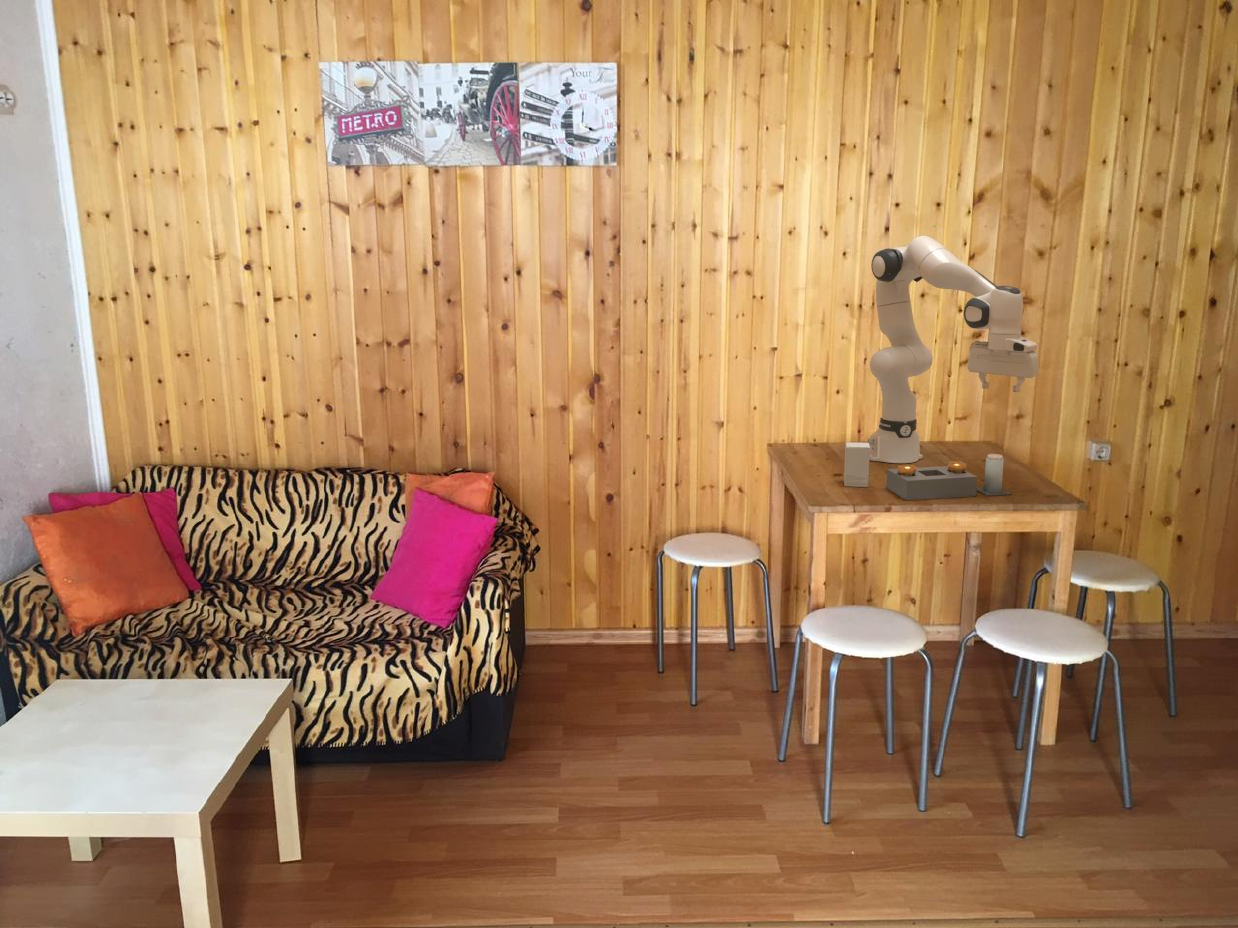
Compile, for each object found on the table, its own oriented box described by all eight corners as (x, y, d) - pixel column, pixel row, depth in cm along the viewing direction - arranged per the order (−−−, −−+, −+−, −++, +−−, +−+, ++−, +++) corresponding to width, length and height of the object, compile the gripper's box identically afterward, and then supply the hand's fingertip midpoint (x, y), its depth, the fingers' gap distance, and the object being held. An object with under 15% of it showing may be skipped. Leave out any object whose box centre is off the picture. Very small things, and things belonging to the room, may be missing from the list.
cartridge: (980, 491, 304) (983, 455, 302) (988, 487, 308) (990, 452, 305) (996, 493, 301) (999, 458, 298) (1004, 490, 304) (1006, 455, 302)
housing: (886, 488, 310) (887, 469, 309) (953, 484, 314) (954, 465, 312) (906, 500, 297) (907, 480, 295) (976, 496, 300) (977, 476, 299)
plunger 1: (893, 488, 306) (895, 464, 304) (910, 487, 307) (911, 463, 305) (901, 493, 301) (902, 468, 299) (917, 492, 302) (919, 467, 300)
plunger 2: (943, 485, 308) (944, 461, 307) (959, 484, 309) (960, 460, 307) (951, 489, 303) (953, 465, 302) (967, 488, 304) (969, 464, 302)
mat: (973, 489, 307) (973, 488, 307) (998, 488, 309) (998, 486, 308) (987, 496, 300) (987, 495, 300) (1012, 494, 301) (1012, 493, 301)
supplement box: (868, 487, 312) (870, 447, 309) (843, 486, 313) (845, 446, 310) (867, 481, 319) (869, 442, 316) (843, 480, 320) (845, 441, 317)
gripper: (965, 341, 299) (962, 387, 302) (1033, 346, 284) (1029, 395, 288) (975, 339, 303) (972, 385, 306) (1043, 344, 289) (1039, 392, 292)
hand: (1000, 390), depth 297 cm, fingers open, 8 cm apart
